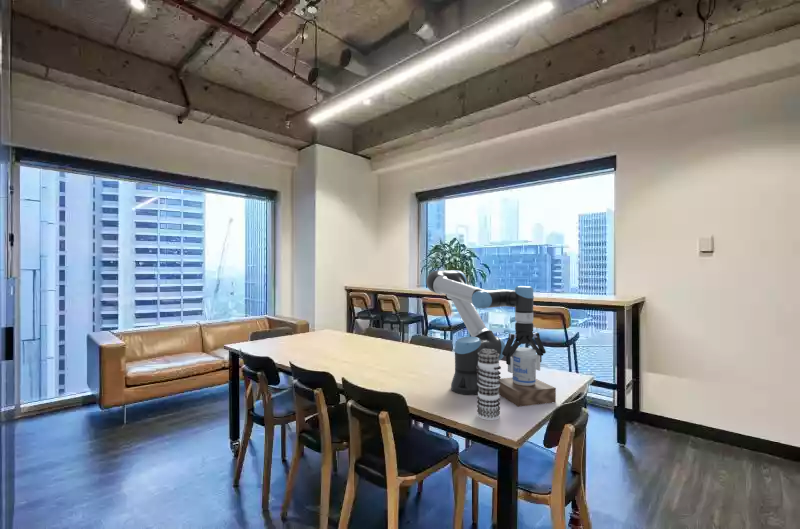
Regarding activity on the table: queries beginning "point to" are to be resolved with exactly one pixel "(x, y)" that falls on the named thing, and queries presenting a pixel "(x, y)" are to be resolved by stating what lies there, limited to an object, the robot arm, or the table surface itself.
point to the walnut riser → (526, 392)
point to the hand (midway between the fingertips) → (524, 371)
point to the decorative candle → (488, 384)
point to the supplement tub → (524, 366)
